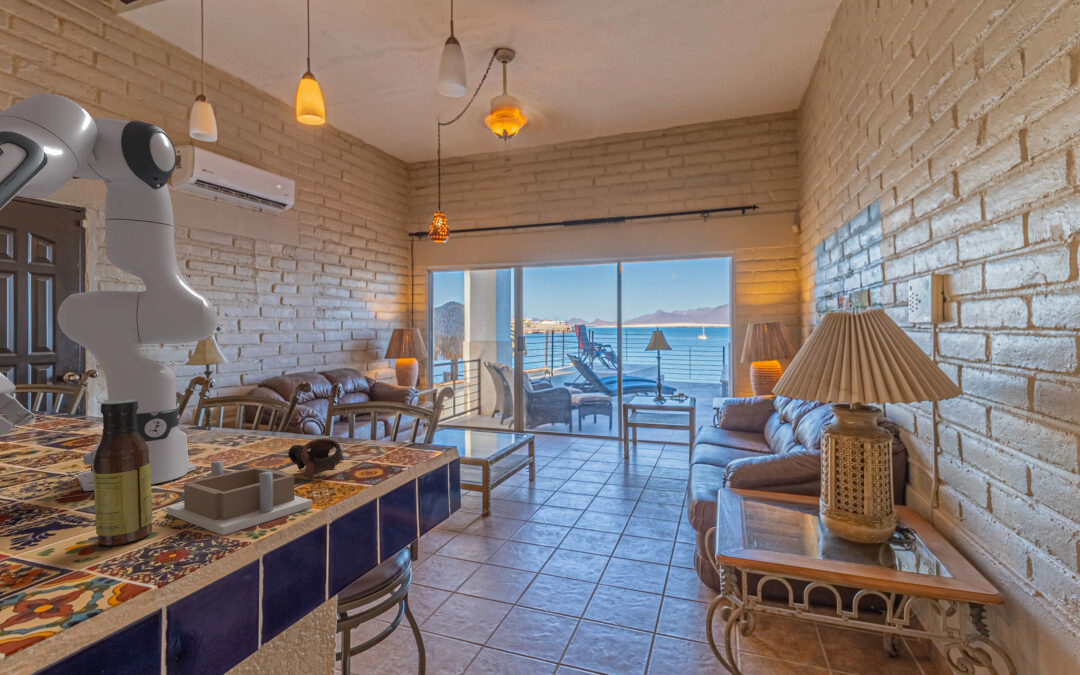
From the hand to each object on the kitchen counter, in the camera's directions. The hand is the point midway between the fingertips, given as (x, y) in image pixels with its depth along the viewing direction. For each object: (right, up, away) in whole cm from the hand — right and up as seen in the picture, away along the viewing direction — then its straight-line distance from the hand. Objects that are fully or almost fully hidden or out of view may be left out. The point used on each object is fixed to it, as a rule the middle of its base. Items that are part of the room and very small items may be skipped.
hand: (19, 426), depth 65 cm
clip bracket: (+18, -17, +18) cm, 31 cm away
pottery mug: (+20, -18, +41) cm, 49 cm away
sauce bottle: (+9, -17, +6) cm, 20 cm away
